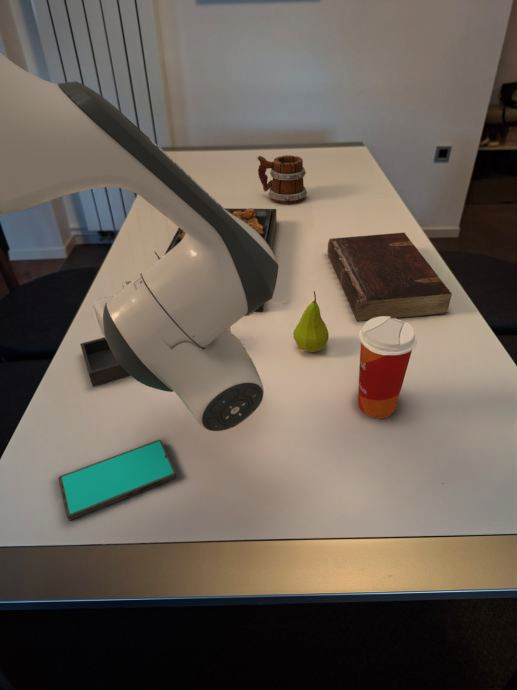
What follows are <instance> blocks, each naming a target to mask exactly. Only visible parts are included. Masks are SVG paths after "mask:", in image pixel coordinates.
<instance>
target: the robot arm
mask: <svg viewBox="0 0 517 690" xmlns="http://www.w3.org/2000/svg"><path fill="white" fill-rule="evenodd" d="M100 188H101V189H102V188H103V189H104V188H118V189H125V190H127V191H129V192H132V193H134V194H136V195H138V196H139V197H141V198H142V199H143V200H144V201H146V202H147V203H148V204H150V205H151V206H152V207H153V208H154V209H156V210H157V211H158V212H159V213H160V214H162V215H163V216H164V217H165V218H167V219H168V220H169V221H170V222H171V223H173V224H174V225H175V226H176V227H178V228H180V229H182V230H183V231H184V232H185V236H184V237H183V239H182V240H181V241H180V243H179V244H177V245H176V246H175V247H174V248H173V249H171V250H170V251H169V252H168V253H166V252H165V253H166V254H165V253H164V255H163V256H161V257H159V258H160V259H158V260H156V261H155V262H154V263H153V264H152V265H151V266H149V267H148V268H147V269H146V270H144V271H143V272H142V273H140V274H139V275H137V276H136V277H135V278H134V279H132V280H129V281H124V282H122V283H121V284H122V289H120V290H119V291H118V292H117V293H116V294H115V295H111V296H107V297H103V298H99V299H98V300H97V301H96V302H95V303H94V304H93V308H94V313H95V316H96V320H97V324H98V327H99V330H100V332H101V333H102V336H103V337H105V339H106V341H107V343H108V345H109V347H110V349H111V351H112V353H113V355H114V357H115V358H116V360H117V361H118V363H119V364H120V365H121V366H122V368H123V369H124V370H125V371H126V372H127V373H128V374H130V375H131V376H130V377H132V378H133V379H134V380H136V381H137V382H139V383H140V384H142V385H144V386H146V387H149V388H152V389H156V390H159V391H163V392H166V393H167V392H169V393H175V395H176V396H177V397H178V398H179V399H180V400H181V402H182V403H183V404H184V406H185V407H186V408H187V410H188V411H189V413H190V414H191V416H192V417H193V418H194V419H195V422H197V424H199V426H200V427H202V428H203V429H205V430H207V431H210V432H222V431H227V430H230V429H232V428H234V427H237V426H239V424H241V423H243V422H244V421H245V420H247V419H248V418H249V417H250V416H251V415H253V414H254V413H255V412H256V411H257V409H259V407H260V406H261V403H262V401H263V398H264V394H265V389H264V385H263V382H262V379H261V376H260V375H259V371H258V370H257V367H256V365H255V363H254V362H253V360H252V358H251V356H250V354H249V352H248V350H247V349H246V347H245V346H244V345H243V343H242V342H241V340H240V339H239V337H238V336H236V334H234V333H232V330H231V327H232V326H234V325H235V324H236V323H237V322H239V321H240V320H241V319H243V318H244V317H249V316H250V315H253V314H254V311H255V310H257V309H258V308H259V307H260V306H261V305H263V304H264V305H265V304H266V303H268V302H269V301H270V300H272V299H273V296H274V292H275V289H276V285H277V280H278V274H279V264H278V263H277V259H276V256H275V254H274V252H273V250H271V249H270V247H269V245H268V244H267V243H266V241H265V240H264V239H263V238H262V237H261V236H260V235H259V234H258V233H257V232H256V231H255V230H254V229H253V228H252V227H251V226H249V225H248V224H247V223H245V222H244V221H242V220H241V219H239V218H237V217H236V216H234V215H232V214H231V213H229V212H228V211H226V210H225V209H224V207H223V206H222V205H221V204H220V203H219V202H218V201H217V200H216V199H215V198H214V197H213V196H212V195H211V194H210V193H209V192H208V191H207V190H205V189H204V187H202V186H201V184H199V182H197V181H196V180H195V179H194V178H193V177H192V176H191V175H190V174H189V173H188V172H186V171H185V170H184V168H182V167H181V165H179V164H178V163H177V162H176V161H175V160H174V159H173V158H172V157H170V155H169V154H167V152H165V151H164V150H163V149H162V148H161V147H160V146H159V145H158V144H157V143H156V142H154V141H153V139H152V138H151V137H149V136H148V135H147V134H145V133H144V132H143V131H142V130H141V129H140V128H139V127H138V126H137V125H136V124H135V123H133V122H132V121H131V120H130V119H129V118H128V117H127V116H126V115H124V114H123V113H122V112H121V111H120V110H119V109H118V108H117V107H116V106H115V105H114V104H112V103H111V102H110V101H109V100H108V99H106V98H105V97H104V96H102V95H101V94H99V93H98V92H97V91H95V90H94V89H92V88H91V87H88V86H87V85H85V84H83V83H81V82H79V81H77V80H74V81H68V82H60V83H59V82H58V83H53V82H51V81H48V80H46V79H44V78H42V77H38V76H36V75H34V74H32V73H31V72H29V71H27V70H26V69H24V68H22V67H20V66H19V65H18V64H16V63H14V62H13V61H11V60H10V58H8V57H6V56H5V55H4V54H2V52H0V216H3V215H4V216H5V215H9V214H14V213H18V212H22V211H25V210H28V209H31V208H34V207H36V206H39V205H41V204H45V203H47V202H50V201H53V200H55V199H60V198H62V197H65V196H68V195H72V194H77V193H79V192H84V191H88V190H95V189H100Z"/></svg>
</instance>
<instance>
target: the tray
mask: <svg viewBox="0 0 517 690" xmlns="http://www.w3.org/2000/svg"><path fill="white" fill-rule="evenodd" d="M79 345H80V348H81V352H82V355H83V359H84V364H85V367H86V370H87V372H88V377H89V379H90V383H91V385H92V386H91V387H92V388H94V387H97V386H102V385H105V384H108V383H111V382H115V381H118V380H121V379H125V378H129V377H132V376H131V375H130V374H128V373H127V372H126V371H125V370H124V369H123V368H122V366H121V365H120V364H119V363H118V361H117V360H116V358H115V357H114V355H113V353H112V351H111V349H110V347H109V345H108V343H107V341H106V339H105V337H104V336H103V337H101V338H96V339H92V340H88V341H84V342H81V343H79Z"/></svg>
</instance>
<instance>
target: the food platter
mask: <svg viewBox="0 0 517 690" xmlns="http://www.w3.org/2000/svg"><path fill="white" fill-rule="evenodd" d="M223 208H224V207H223ZM224 209H225V210H226V211H228V212H229V213H231V214H232V215H234V216H236V217H237V218H239V219H241V220H242V221H244V222H245V223H247V224H248V225H249V226H251V227H252V228H253V229H254V230H255V231H256V232H257V233H258V234H259V235H260V236H261V237H262V238H263V239H264V240H265V241H266V243H267V244H268V245H269V247H270V249H271V250H272V251H273V249H274V243H275V237H276V236H275V235H276V232H277V231H276V230H277V223H278V221H277V208H253V207H248V208H224ZM184 236H185V232H184V231H183V230H182V229H180V228H179V227H178V228H177V229H176V232H175V234H174V235H173V237H172V240H171V241H170V243H169V245H168V246H167V249H166V251H165V253H164V255H165V254H166V253H168V252H169V251H170V250H171V249H173V248H174V247H175V246H176V245H177V244H179V243H180V241H181V240H182V239H183V237H184ZM153 252H154V254H155V255H156V257H157V259H158V260H159V259H160V258H161V257H160V256H159V255H158V253H157V252H156V251H155V250H153ZM264 309H265V303H264V304H263V305H261V306H260V307H259V308H258V309H257V310H255V311H254V312H255V313H264Z"/></svg>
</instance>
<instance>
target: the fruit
mask: <svg viewBox="0 0 517 690" xmlns="http://www.w3.org/2000/svg"><path fill="white" fill-rule="evenodd" d="M313 296H314V299H313V301H311V303H309V304H308V305H307V307H306V308H305V310H304V311H303V313H302V315H301V317H300V319H299V321H298V323H297V324H296V327H295V328H294V330H293V333H292V334H293V339H294V341H295V343H296V345H297V347H298V348H299V349H301V350H303V351H305V352H309V353H315V352H318V351H321V350H323V349H325V347H326V345H327V343H328V341H329V330H328V327H327V325H326V323H325V322H324V320H323V318H322V316H321V309H320V306H319V305H318V302H317V296H316V291H315V290H313Z"/></svg>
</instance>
